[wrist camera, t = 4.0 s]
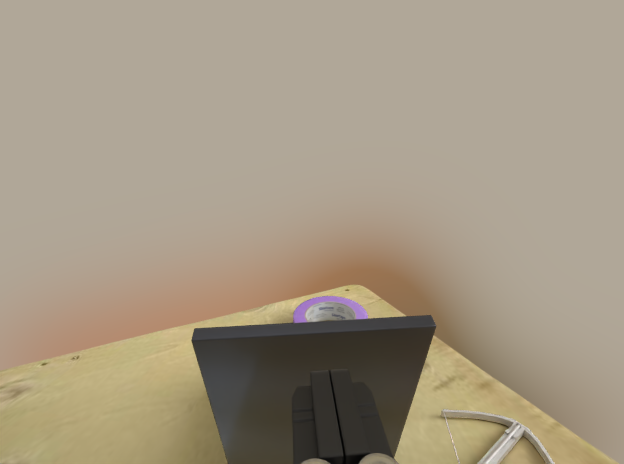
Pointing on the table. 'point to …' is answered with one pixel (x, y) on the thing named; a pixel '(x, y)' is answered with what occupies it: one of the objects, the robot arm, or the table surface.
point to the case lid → (305, 375)
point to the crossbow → (506, 441)
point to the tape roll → (328, 310)
